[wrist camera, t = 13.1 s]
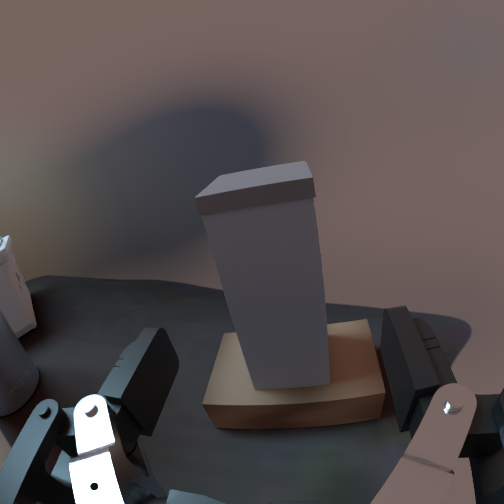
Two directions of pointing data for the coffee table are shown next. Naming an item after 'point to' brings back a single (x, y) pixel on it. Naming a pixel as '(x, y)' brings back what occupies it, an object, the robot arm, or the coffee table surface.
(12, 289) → the stereo radio cassette player
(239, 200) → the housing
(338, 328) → the stand
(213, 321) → the coffee table surface
